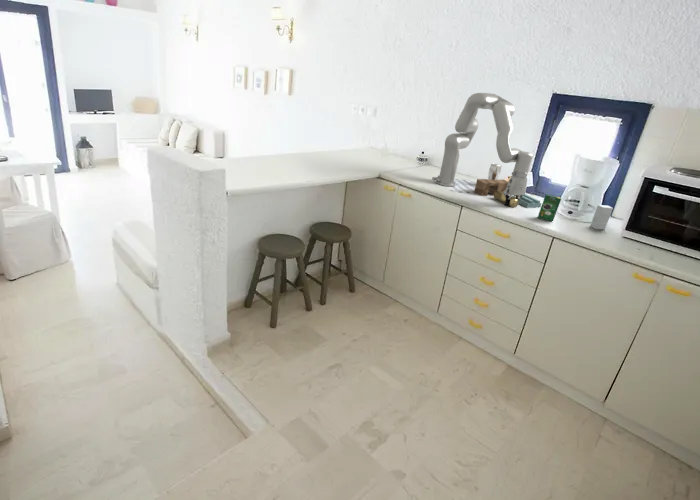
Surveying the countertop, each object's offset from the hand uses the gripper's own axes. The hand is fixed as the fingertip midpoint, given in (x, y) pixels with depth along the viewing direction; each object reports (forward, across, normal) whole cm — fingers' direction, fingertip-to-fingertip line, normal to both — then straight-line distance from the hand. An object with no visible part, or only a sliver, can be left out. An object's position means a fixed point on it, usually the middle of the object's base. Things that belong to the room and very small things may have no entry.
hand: (510, 205), depth 235 cm
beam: (+1, +3, +22) cm, 22 cm away
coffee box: (+1, +6, -21) cm, 22 cm away
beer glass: (+1, +12, +35) cm, 37 cm away
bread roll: (0, 0, +5) cm, 5 cm away
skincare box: (0, +29, -34) cm, 45 cm away
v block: (0, +14, +4) cm, 15 cm away
